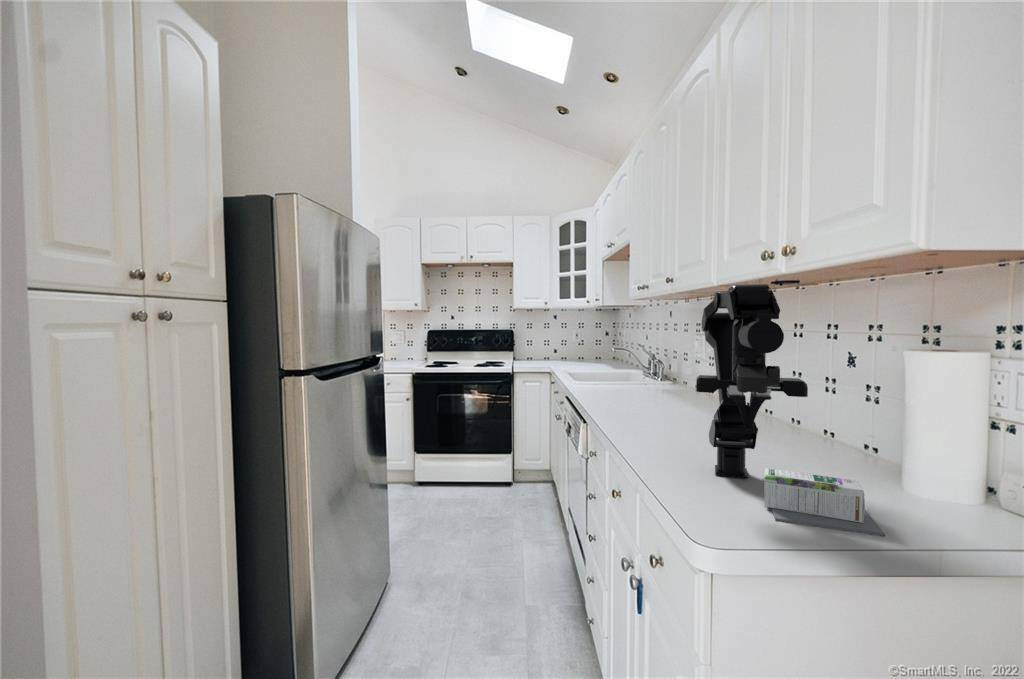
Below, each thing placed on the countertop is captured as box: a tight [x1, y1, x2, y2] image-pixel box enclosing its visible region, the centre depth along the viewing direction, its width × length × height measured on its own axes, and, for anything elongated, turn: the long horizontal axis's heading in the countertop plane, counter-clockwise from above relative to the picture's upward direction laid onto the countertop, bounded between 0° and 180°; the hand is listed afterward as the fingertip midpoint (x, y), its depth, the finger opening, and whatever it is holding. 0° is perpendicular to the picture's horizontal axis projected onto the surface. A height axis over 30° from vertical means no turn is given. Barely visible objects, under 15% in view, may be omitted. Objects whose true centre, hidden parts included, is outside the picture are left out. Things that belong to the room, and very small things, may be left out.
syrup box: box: [763, 467, 866, 523], centre depth 80 cm, size 6×6×14 cm
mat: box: [771, 508, 886, 537], centre depth 81 cm, size 16×15×1 cm
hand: (747, 429), depth 88 cm, fingers closed
